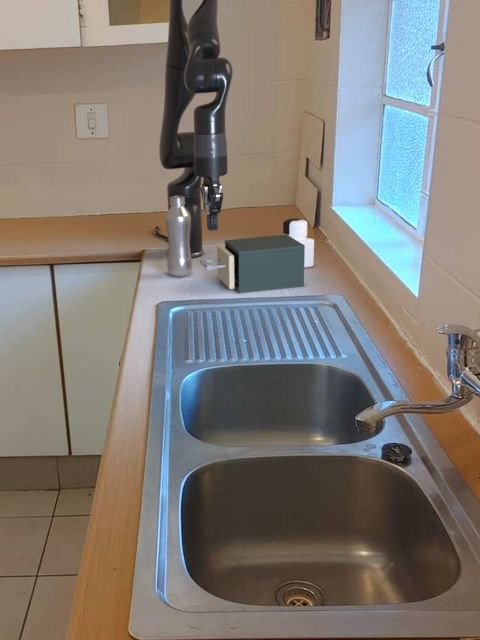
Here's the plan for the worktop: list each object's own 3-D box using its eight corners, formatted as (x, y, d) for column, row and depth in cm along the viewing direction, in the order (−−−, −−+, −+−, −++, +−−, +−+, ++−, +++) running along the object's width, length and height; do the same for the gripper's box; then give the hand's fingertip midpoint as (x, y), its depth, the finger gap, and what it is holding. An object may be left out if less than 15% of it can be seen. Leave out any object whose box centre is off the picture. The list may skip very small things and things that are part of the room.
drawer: (209, 291, 176) (208, 258, 173) (198, 278, 186) (197, 247, 183) (289, 283, 178) (289, 250, 175) (274, 271, 189) (274, 239, 186)
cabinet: (239, 292, 176) (238, 251, 173) (225, 278, 188) (224, 240, 184) (303, 286, 178) (304, 245, 175) (286, 272, 190) (286, 234, 186)
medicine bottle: (275, 265, 197) (275, 219, 193) (298, 260, 200) (299, 215, 195) (290, 270, 191) (291, 223, 187) (314, 266, 194) (315, 220, 189)
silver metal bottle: (177, 270, 198) (174, 193, 190) (198, 273, 194) (195, 195, 186) (162, 276, 194) (158, 198, 186) (183, 279, 190) (179, 199, 182)
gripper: (234, 155, 164) (235, 234, 171) (219, 149, 176) (221, 223, 183) (200, 158, 163) (203, 237, 170) (188, 152, 175) (191, 226, 182)
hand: (212, 230), depth 176 cm, fingers closed
